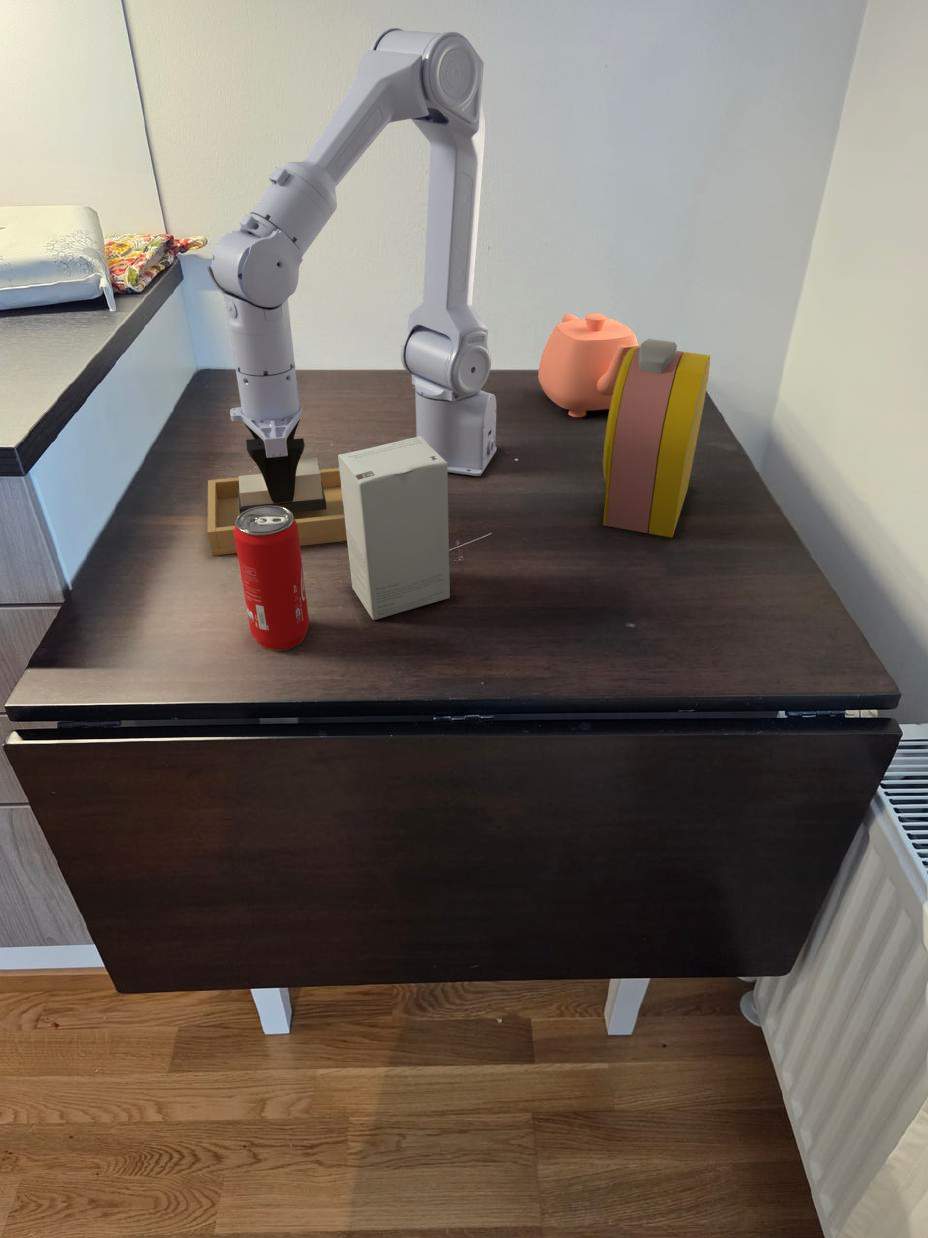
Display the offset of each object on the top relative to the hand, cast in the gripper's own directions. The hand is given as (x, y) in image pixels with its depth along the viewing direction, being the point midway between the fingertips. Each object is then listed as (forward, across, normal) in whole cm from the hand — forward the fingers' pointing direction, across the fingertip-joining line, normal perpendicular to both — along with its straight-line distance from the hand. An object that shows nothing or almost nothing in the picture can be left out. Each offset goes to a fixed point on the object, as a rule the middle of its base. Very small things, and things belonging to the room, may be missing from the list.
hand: (281, 490), depth 93 cm
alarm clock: (+4, +6, +40) cm, 40 cm away
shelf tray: (+4, 0, 0) cm, 4 cm away
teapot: (+4, -23, +44) cm, 50 cm away
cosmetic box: (+4, +17, +10) cm, 20 cm away
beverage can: (+4, +21, -2) cm, 21 cm away
